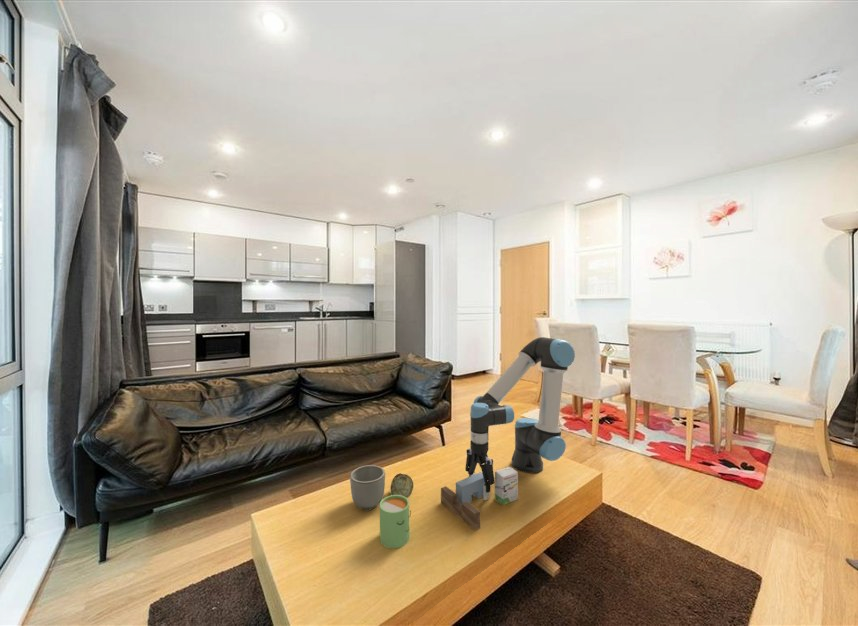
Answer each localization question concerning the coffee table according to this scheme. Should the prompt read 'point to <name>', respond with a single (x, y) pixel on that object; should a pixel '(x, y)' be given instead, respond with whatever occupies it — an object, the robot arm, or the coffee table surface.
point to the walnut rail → (460, 508)
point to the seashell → (402, 485)
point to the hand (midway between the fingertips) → (479, 494)
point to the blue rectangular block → (470, 488)
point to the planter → (367, 486)
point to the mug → (394, 521)
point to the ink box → (506, 485)
